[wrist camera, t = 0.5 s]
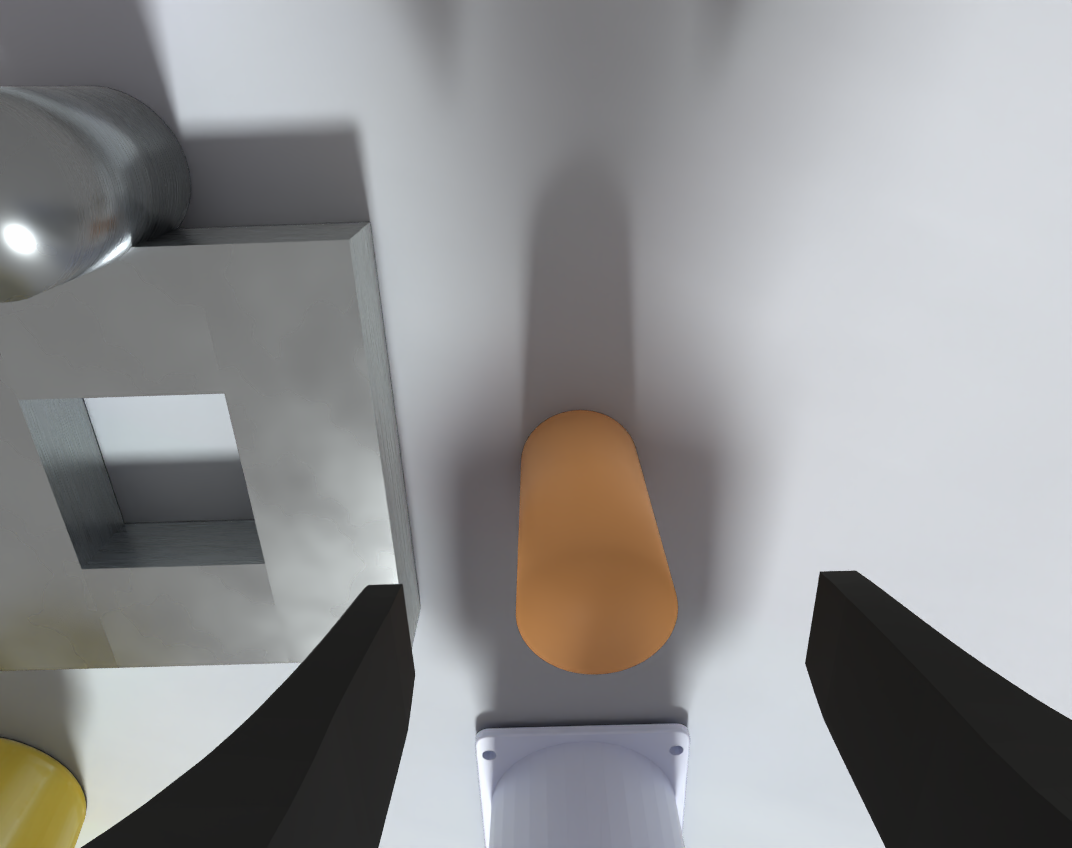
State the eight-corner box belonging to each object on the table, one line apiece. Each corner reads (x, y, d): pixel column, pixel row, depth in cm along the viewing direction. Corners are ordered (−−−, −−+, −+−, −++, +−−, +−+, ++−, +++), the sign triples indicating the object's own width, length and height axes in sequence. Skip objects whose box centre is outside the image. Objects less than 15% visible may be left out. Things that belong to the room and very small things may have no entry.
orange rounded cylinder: (635, 510, 23) (674, 672, 17) (523, 513, 23) (519, 676, 17) (638, 408, 21) (682, 543, 15) (518, 411, 21) (511, 548, 15)
